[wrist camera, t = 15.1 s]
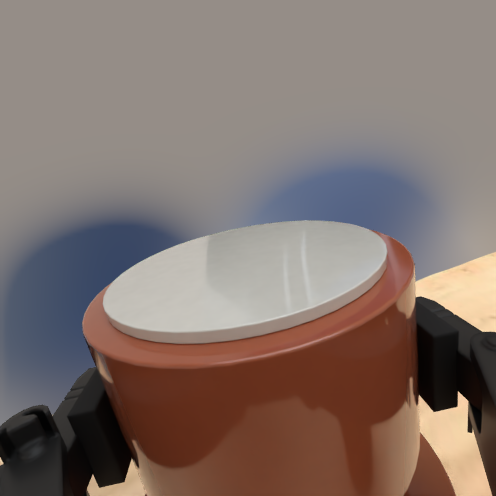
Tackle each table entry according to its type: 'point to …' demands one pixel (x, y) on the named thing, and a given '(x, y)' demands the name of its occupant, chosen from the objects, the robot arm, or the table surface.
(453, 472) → the table surface
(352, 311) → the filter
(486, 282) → the table surface
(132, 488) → the table surface
